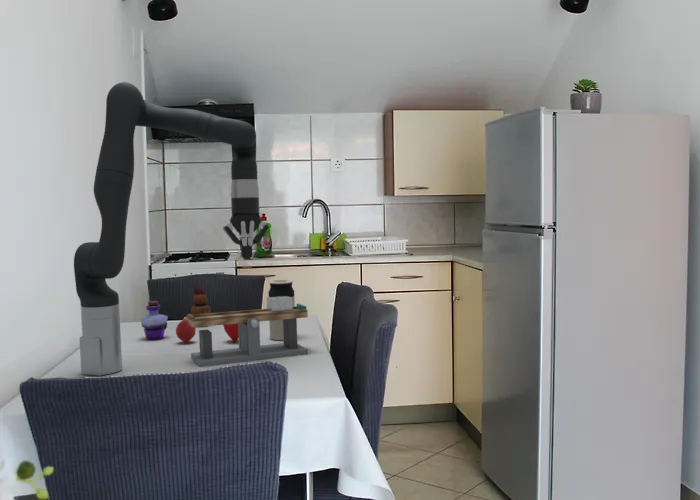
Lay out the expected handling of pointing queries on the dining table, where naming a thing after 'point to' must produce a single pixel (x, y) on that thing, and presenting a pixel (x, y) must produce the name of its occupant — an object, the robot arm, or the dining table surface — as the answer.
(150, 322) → the potion bottle
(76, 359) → the dining table surface
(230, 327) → the strawberry
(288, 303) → the block
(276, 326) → the travel mug
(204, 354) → the pivot stand
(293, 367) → the dining table surface
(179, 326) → the pomegranate
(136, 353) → the dining table surface
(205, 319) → the beam
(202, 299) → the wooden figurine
